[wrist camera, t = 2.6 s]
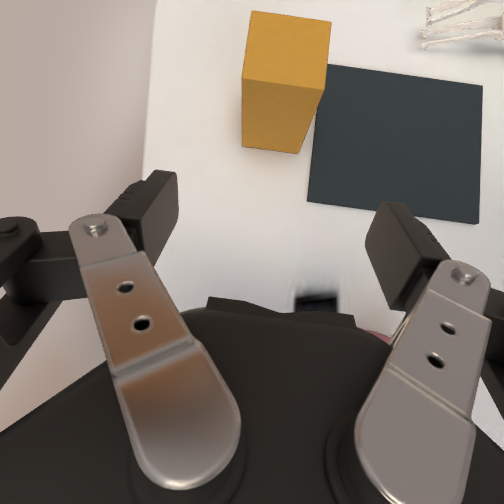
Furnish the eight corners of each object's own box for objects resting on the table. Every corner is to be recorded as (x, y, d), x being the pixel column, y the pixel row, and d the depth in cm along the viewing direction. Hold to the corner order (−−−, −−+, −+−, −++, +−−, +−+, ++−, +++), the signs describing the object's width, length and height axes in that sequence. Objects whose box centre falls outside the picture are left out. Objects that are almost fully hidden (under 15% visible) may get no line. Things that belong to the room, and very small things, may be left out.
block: (303, 105, 28) (331, 21, 19) (298, 154, 28) (324, 89, 19) (248, 98, 28) (251, 9, 19) (241, 146, 28) (241, 78, 19)
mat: (479, 88, 29) (483, 85, 29) (475, 224, 27) (479, 223, 27) (321, 65, 29) (322, 62, 29) (306, 201, 27) (307, 200, 27)
